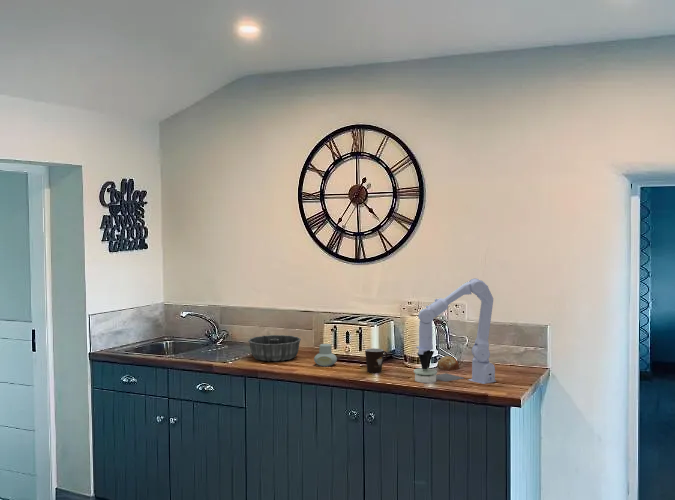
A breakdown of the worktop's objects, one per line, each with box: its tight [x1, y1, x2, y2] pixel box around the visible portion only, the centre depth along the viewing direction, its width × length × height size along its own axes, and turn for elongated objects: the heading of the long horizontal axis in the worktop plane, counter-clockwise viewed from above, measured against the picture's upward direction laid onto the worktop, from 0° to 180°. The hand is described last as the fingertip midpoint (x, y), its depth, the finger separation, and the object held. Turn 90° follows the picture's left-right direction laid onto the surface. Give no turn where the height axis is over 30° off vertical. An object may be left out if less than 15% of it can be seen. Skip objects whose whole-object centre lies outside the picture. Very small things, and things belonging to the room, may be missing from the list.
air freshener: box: [313, 343, 338, 368], centre depth 343 cm, size 11×8×10 cm
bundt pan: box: [247, 334, 302, 363], centre depth 360 cm, size 26×26×10 cm
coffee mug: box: [364, 347, 388, 374], centre depth 329 cm, size 12×9×10 cm
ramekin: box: [414, 373, 437, 384], centre depth 308 cm, size 9×9×3 cm
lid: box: [413, 367, 438, 375], centre depth 308 cm, size 10×10×4 cm
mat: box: [436, 372, 465, 382], centre depth 314 cm, size 12×12×1 cm
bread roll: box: [437, 355, 460, 371], centre depth 334 cm, size 10×10×8 cm
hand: (425, 368), depth 308 cm, fingers closed on lid, 2 cm apart
